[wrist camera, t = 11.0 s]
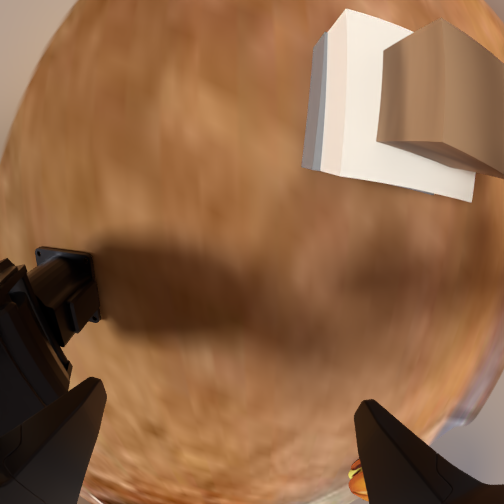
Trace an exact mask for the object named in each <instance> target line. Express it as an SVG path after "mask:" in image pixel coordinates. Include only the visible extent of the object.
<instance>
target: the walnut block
mask: <svg viewBox="0 0 504 504" xmlns="http://www.w3.org/2000/svg"><path fill="white" fill-rule="evenodd" d="M376 142H379V143H383V144H386V145H389V146H392V147H395V148H399V149H402V150H405V151H408V152H411V153H413V154H416V155H419V156H422V157H425V158H427V159H430V160H433V161H435V162H438V163H440V164H443V165H445V166H448V167H450V168H456V169H461V170H466V171H471V172H476V173H481V174H485V175H489V176H494V177H498V178H502V179H504V63H503V62H501V61H500V60H499V59H498V58H497V57H496V56H494V55H493V54H492V53H491V52H490V51H488V50H487V49H486V48H484V47H483V46H482V45H481V44H479V43H478V42H477V41H475V40H474V39H473V38H471V37H470V36H468V35H467V34H466V33H464V32H463V31H461V30H460V29H458V28H457V27H455V26H454V25H452V24H451V23H449V22H447V21H446V20H444V19H443V18H439V19H437V20H435V21H434V22H432V23H430V24H428V25H426V26H424V27H422V28H421V29H419V30H417V31H415V32H414V33H412V34H410V35H408V36H407V37H405V38H403V39H401V40H400V41H398V42H396V43H395V44H393V45H392V46H390V47H388V48H387V49H385V50H383V71H382V88H381V100H380V111H379V121H378V129H377V137H376Z"/></svg>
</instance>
